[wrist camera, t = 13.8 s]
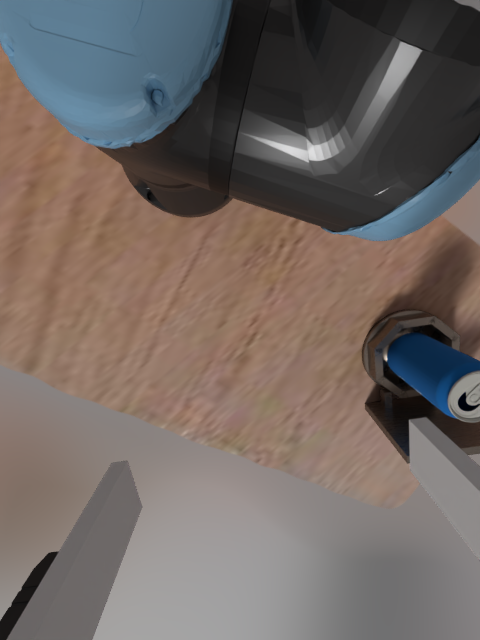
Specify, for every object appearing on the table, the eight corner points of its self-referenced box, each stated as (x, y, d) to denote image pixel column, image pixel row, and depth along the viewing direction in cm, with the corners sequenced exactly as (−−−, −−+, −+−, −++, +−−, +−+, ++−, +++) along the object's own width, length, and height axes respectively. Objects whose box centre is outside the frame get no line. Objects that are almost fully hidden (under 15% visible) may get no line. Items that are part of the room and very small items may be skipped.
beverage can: (374, 357, 39) (430, 403, 28) (407, 321, 38) (481, 354, 27) (406, 382, 40) (474, 437, 29) (440, 348, 39) (525, 391, 28)
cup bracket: (359, 317, 39) (404, 343, 28) (447, 302, 38) (527, 324, 28) (365, 409, 42) (407, 463, 32) (446, 397, 42) (516, 448, 31)
